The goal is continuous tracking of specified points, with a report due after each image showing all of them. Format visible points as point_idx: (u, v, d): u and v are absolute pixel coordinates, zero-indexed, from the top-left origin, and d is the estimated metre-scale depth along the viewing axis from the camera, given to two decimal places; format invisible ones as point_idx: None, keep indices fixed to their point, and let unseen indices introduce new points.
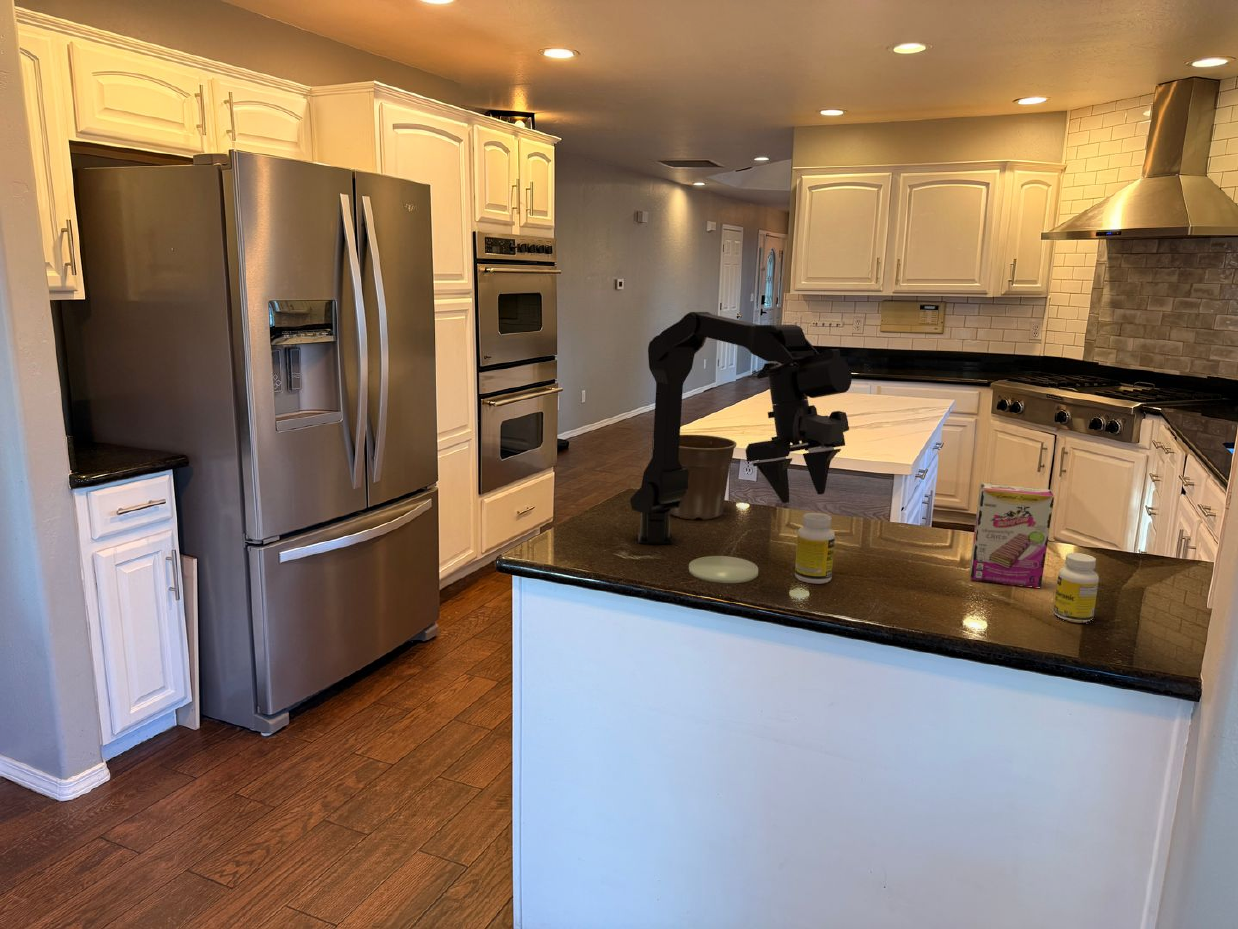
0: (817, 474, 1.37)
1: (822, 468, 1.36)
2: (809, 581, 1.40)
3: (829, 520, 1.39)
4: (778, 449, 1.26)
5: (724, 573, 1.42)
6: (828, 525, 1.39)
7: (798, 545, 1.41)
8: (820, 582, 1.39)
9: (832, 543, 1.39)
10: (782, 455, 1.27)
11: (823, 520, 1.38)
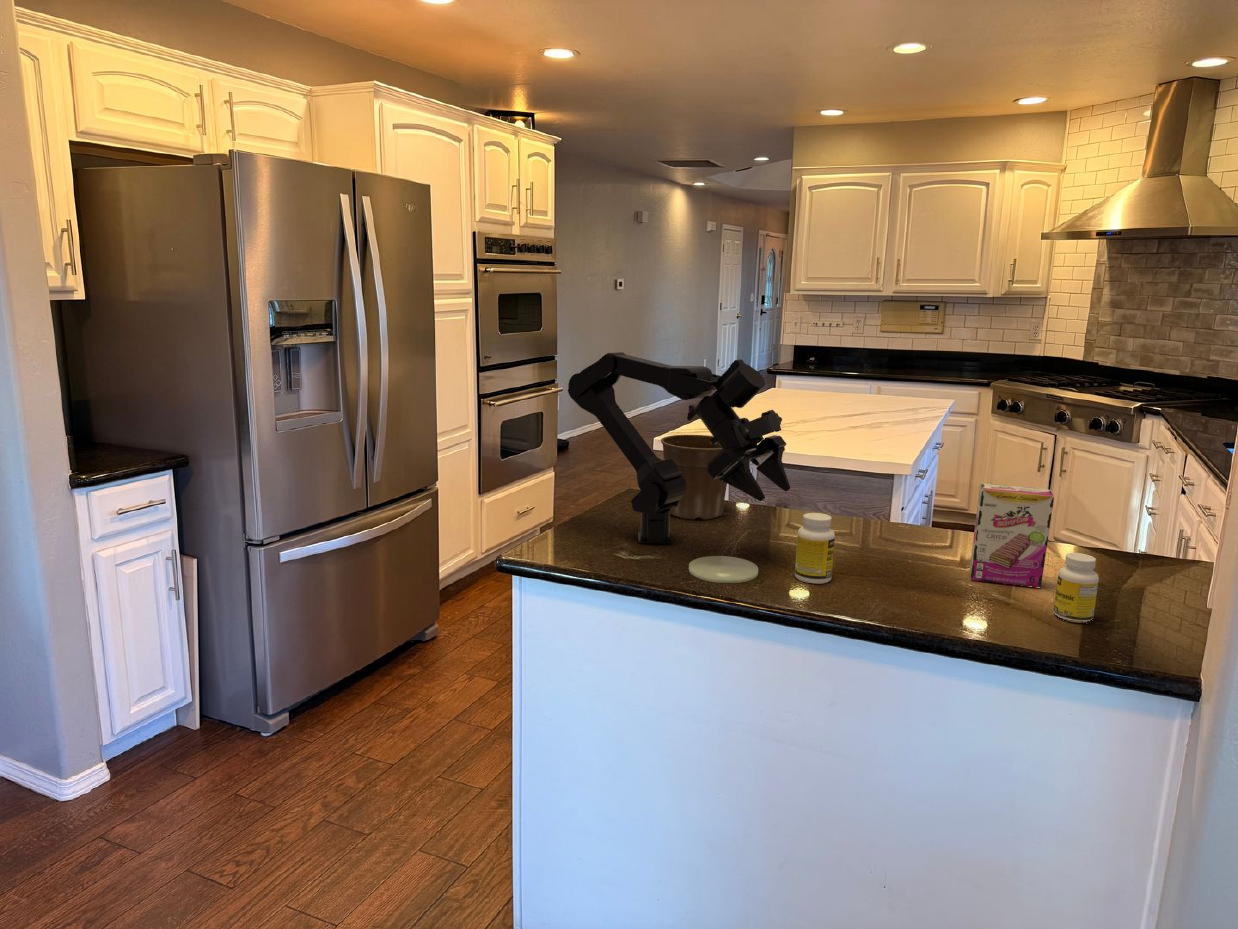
0: (776, 475, 1.49)
1: (778, 468, 1.49)
2: (809, 581, 1.40)
3: (829, 520, 1.39)
4: (734, 451, 1.39)
5: (724, 573, 1.42)
6: (828, 525, 1.39)
7: (798, 545, 1.41)
8: (820, 582, 1.39)
9: (832, 543, 1.39)
10: (739, 455, 1.39)
11: (823, 520, 1.38)
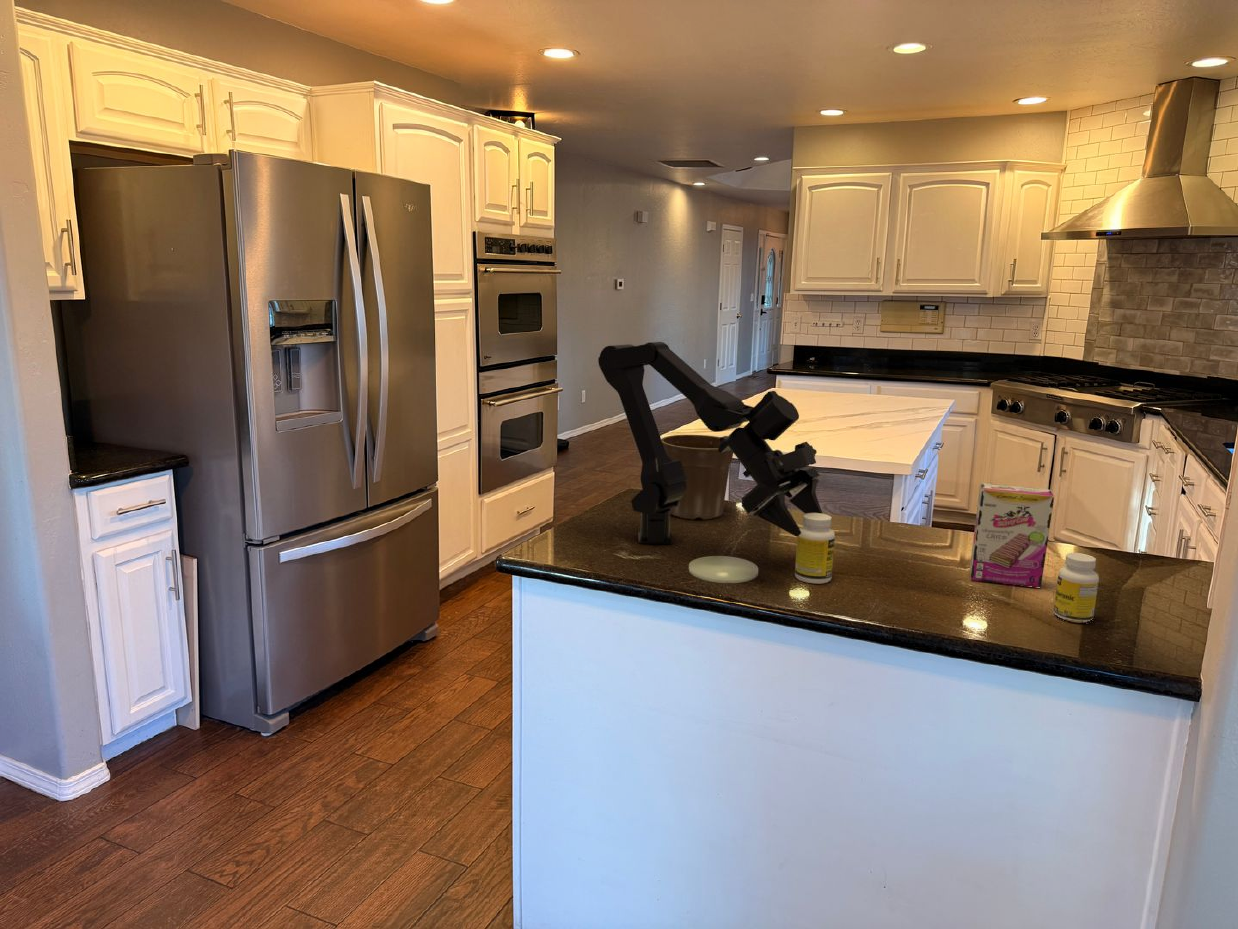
0: (810, 508, 1.46)
1: (812, 501, 1.46)
2: (809, 581, 1.40)
3: (829, 520, 1.39)
4: (769, 486, 1.36)
5: (724, 573, 1.42)
6: (828, 525, 1.39)
7: (798, 545, 1.41)
8: (820, 582, 1.39)
9: (832, 543, 1.39)
10: (775, 490, 1.36)
11: (823, 520, 1.38)
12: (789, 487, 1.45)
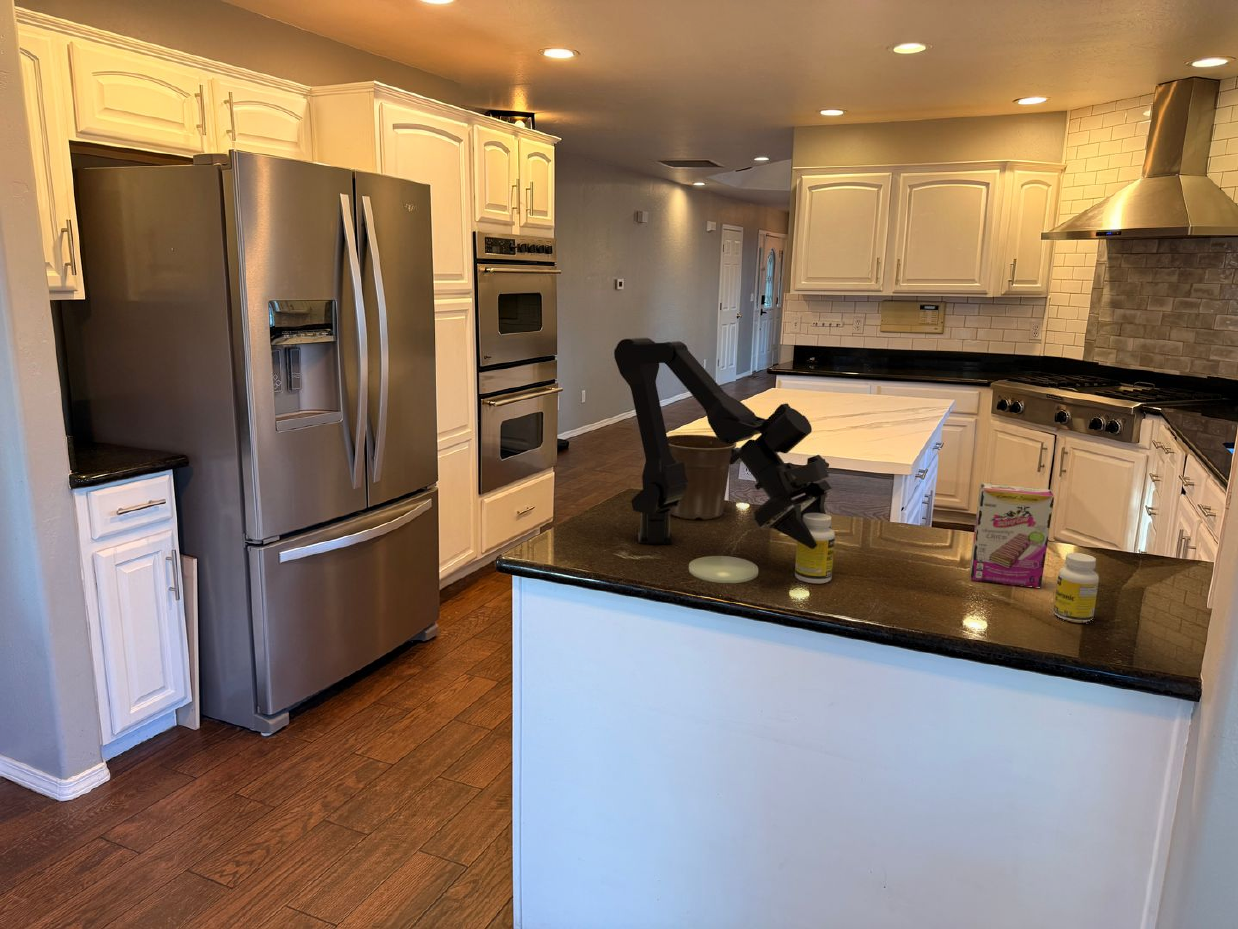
0: None
1: None
2: (809, 581, 1.40)
3: (829, 520, 1.39)
4: (782, 500, 1.35)
5: (724, 573, 1.42)
6: (828, 525, 1.39)
7: (798, 545, 1.41)
8: (820, 582, 1.39)
9: (832, 543, 1.39)
10: (787, 504, 1.35)
11: (823, 520, 1.38)
12: (801, 500, 1.44)
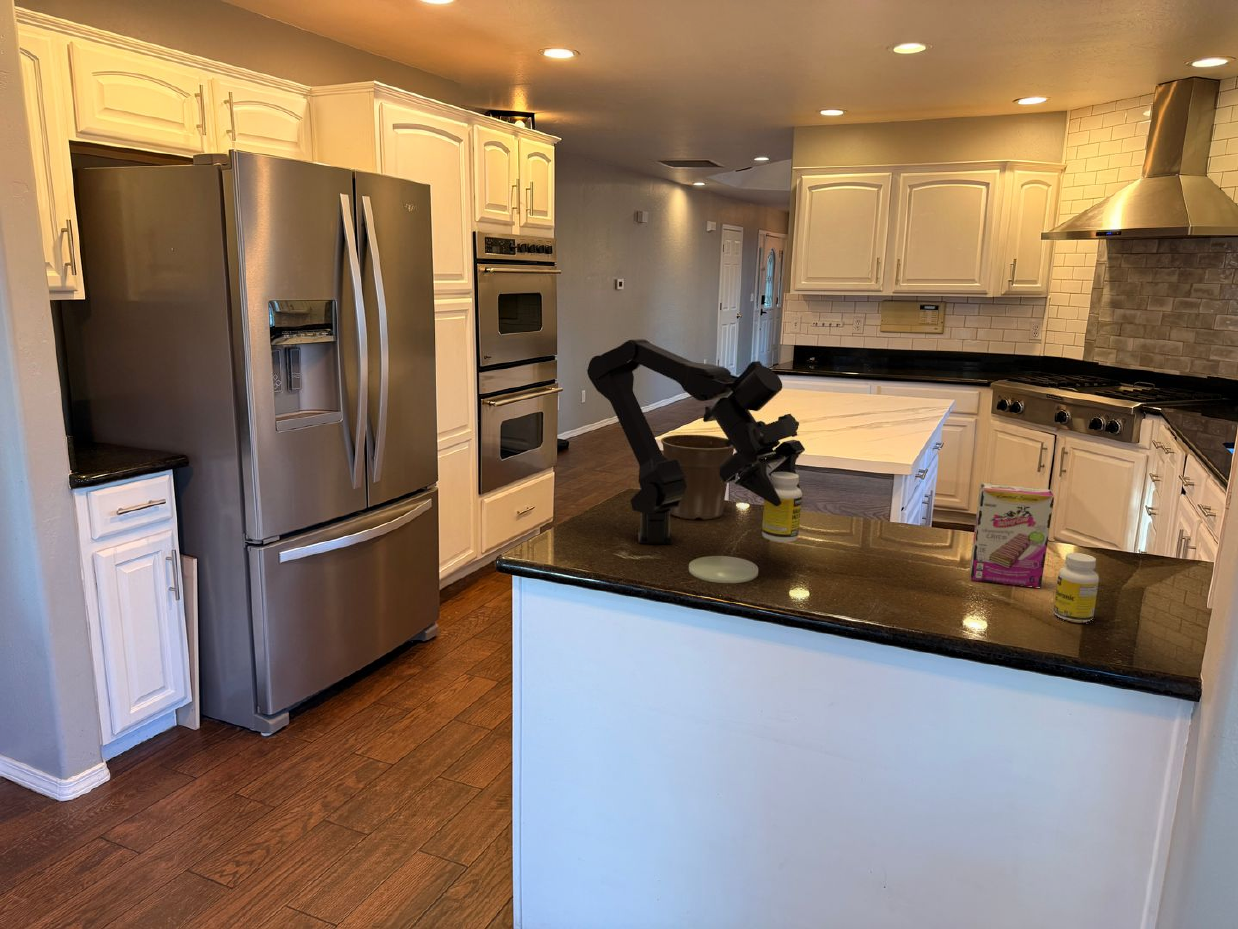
0: None
1: None
2: (774, 539, 1.40)
3: (795, 478, 1.38)
4: (745, 456, 1.35)
5: (724, 573, 1.42)
6: (795, 483, 1.38)
7: (765, 503, 1.41)
8: (785, 540, 1.40)
9: (798, 502, 1.39)
10: (751, 460, 1.35)
11: (789, 478, 1.38)
12: (771, 459, 1.44)
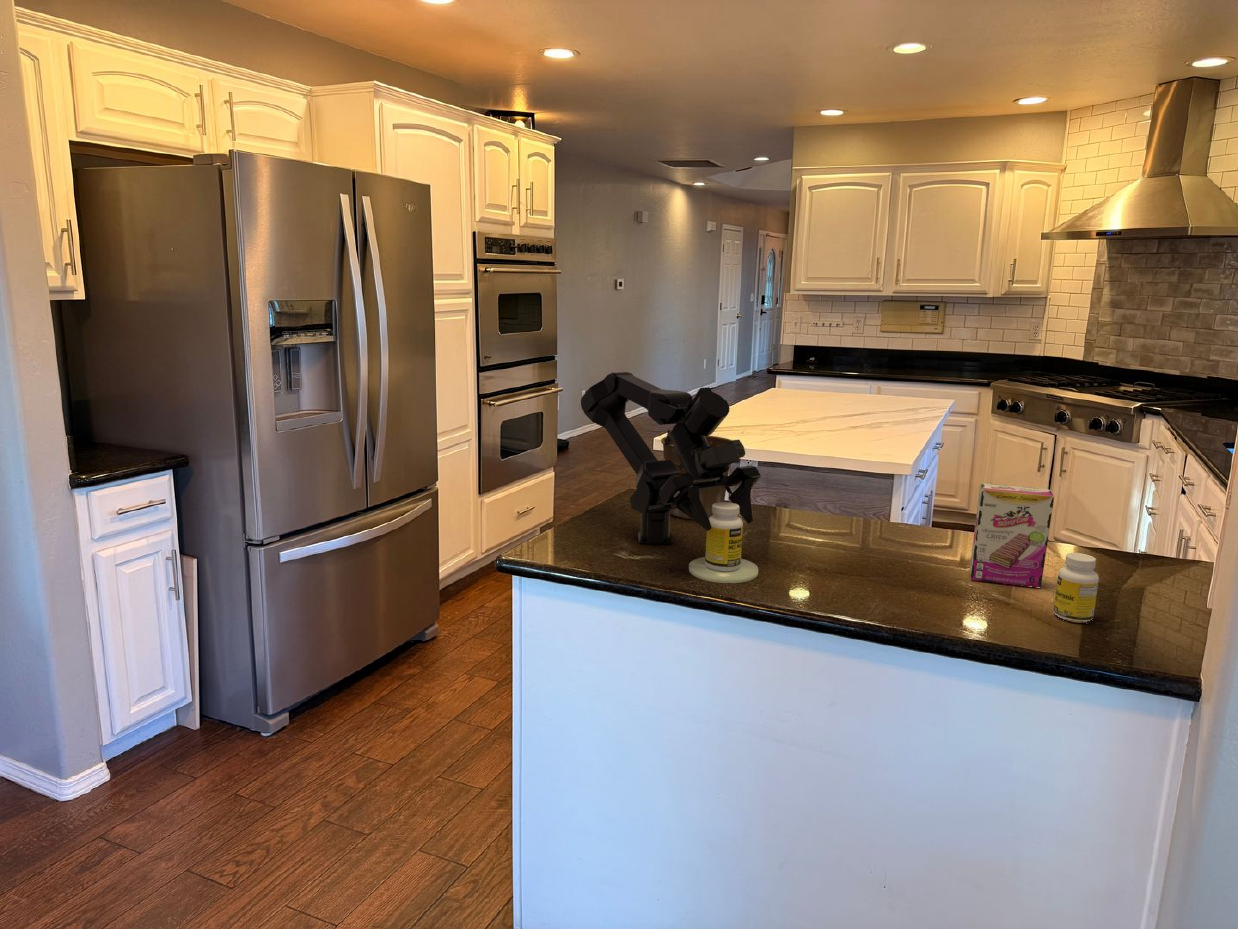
0: (742, 507, 1.46)
1: (743, 499, 1.46)
2: (712, 567, 1.43)
3: (733, 509, 1.41)
4: (679, 479, 1.40)
5: (724, 573, 1.42)
6: (732, 514, 1.41)
7: None
8: (722, 570, 1.42)
9: (735, 533, 1.41)
10: (685, 483, 1.39)
11: (725, 509, 1.41)
12: (721, 483, 1.46)
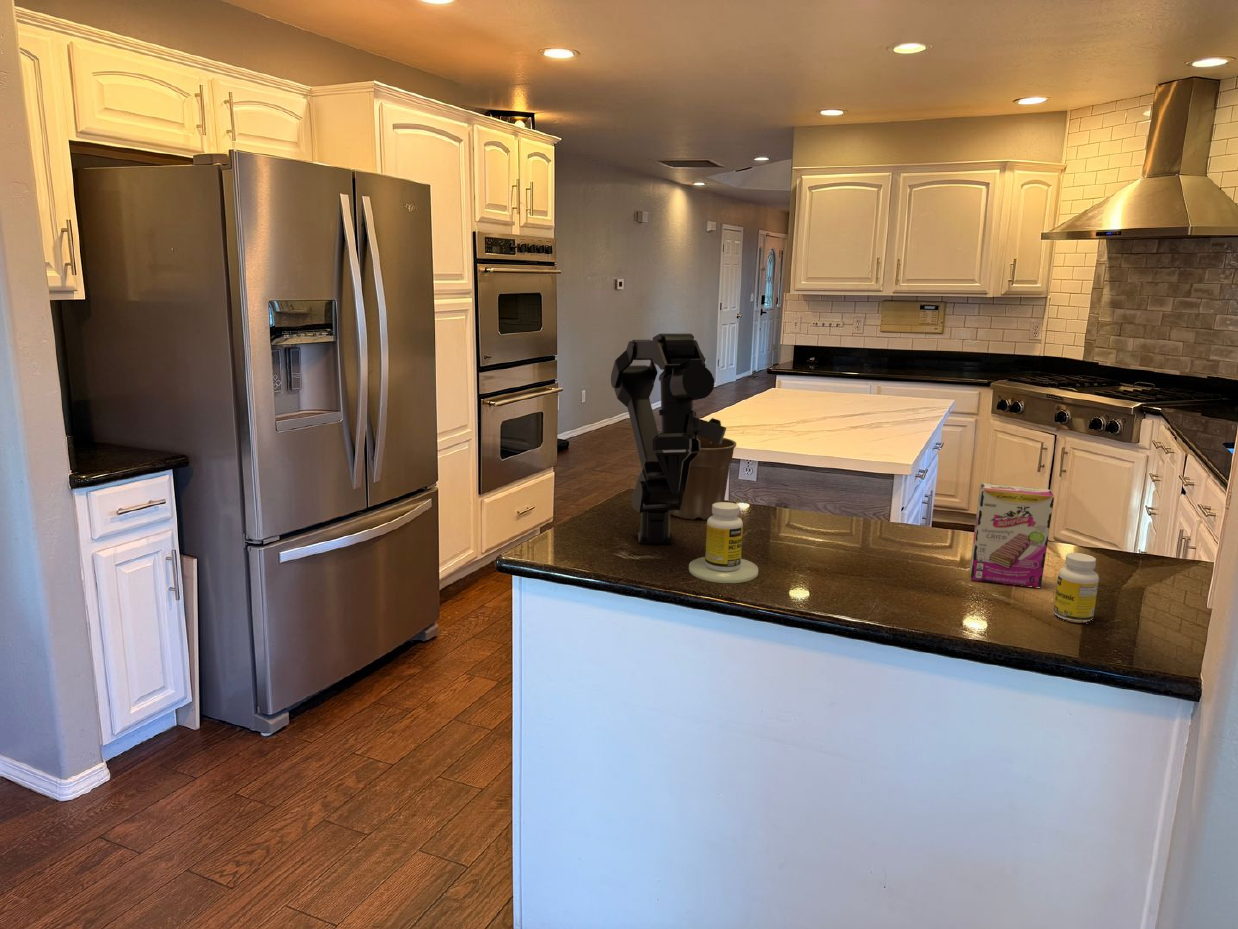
0: None
1: (686, 468, 1.52)
2: (712, 567, 1.43)
3: (733, 510, 1.41)
4: (689, 441, 1.39)
5: (724, 573, 1.42)
6: (732, 514, 1.41)
7: None
8: (722, 570, 1.42)
9: (735, 533, 1.41)
10: (690, 447, 1.40)
11: (725, 509, 1.41)
12: None
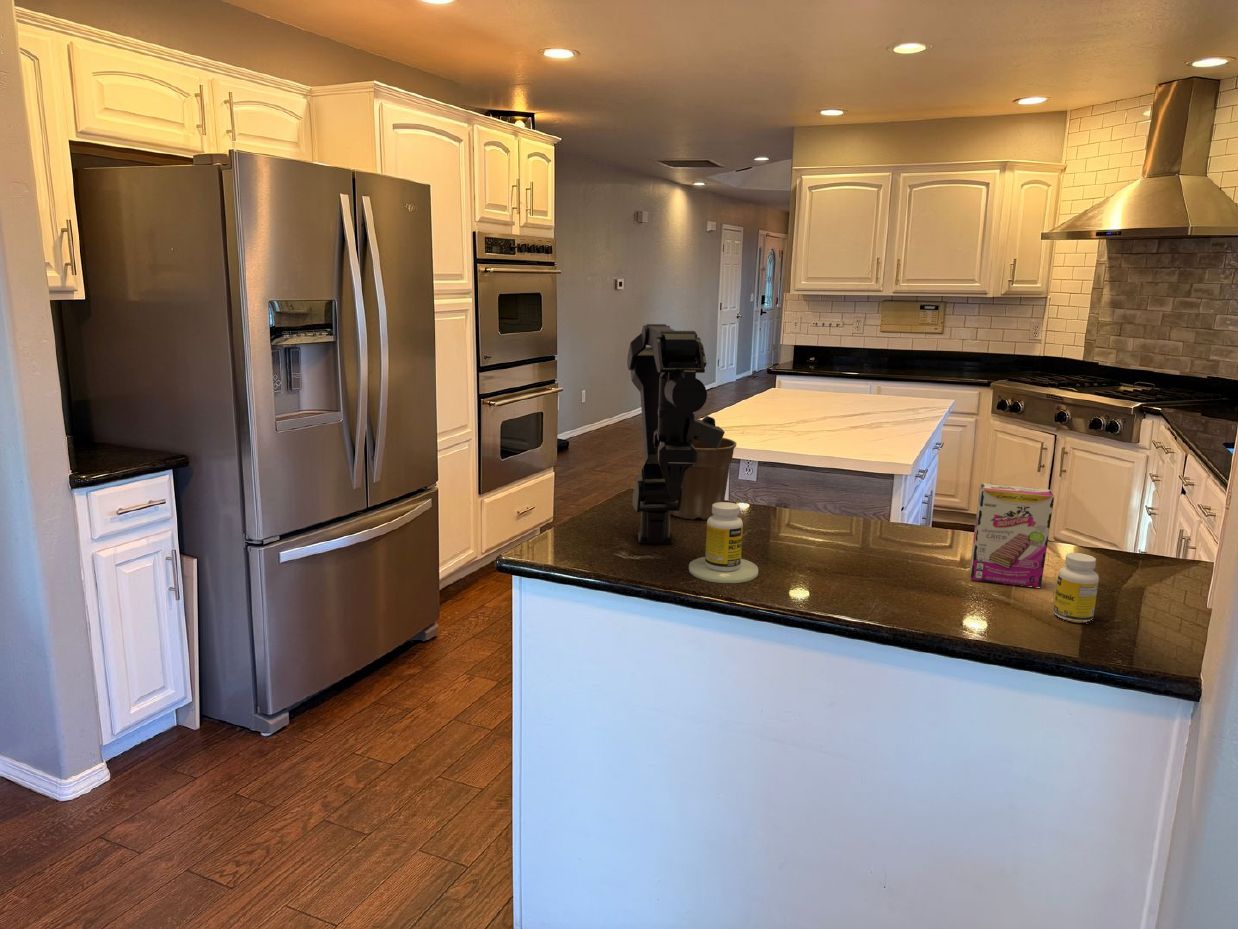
0: None
1: None
2: (712, 567, 1.43)
3: (733, 510, 1.41)
4: None
5: (724, 573, 1.42)
6: (732, 514, 1.41)
7: None
8: (722, 570, 1.42)
9: (735, 533, 1.41)
10: None
11: (725, 509, 1.41)
12: None
